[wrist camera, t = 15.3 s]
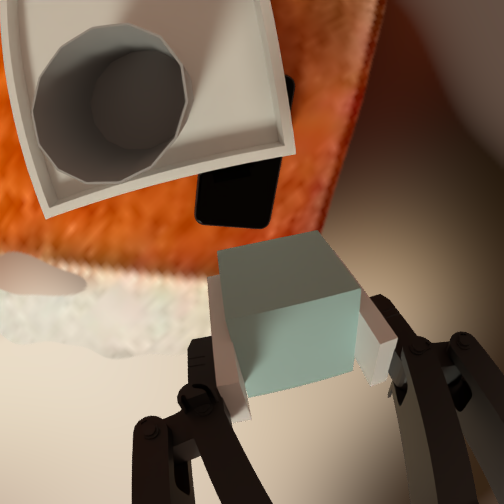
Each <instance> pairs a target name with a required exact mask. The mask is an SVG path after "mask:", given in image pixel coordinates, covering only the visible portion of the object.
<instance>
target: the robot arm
mask: <svg viewBox="0 0 504 504" xmlns="http://www.w3.org/2000/svg"><path fill="white" fill-rule="evenodd" d="M333 251H334V250H333ZM334 252H335V251H334ZM335 254H336V252H335ZM336 255H337V254H336ZM337 256H338V255H337ZM338 257H339V256H338ZM339 259H340V258H339ZM340 260H341V259H340ZM341 261H342V260H341ZM342 263H343V261H342ZM343 264H344V263H343ZM344 265H345V264H344ZM345 267H346V265H345ZM346 268H347V267H346ZM347 269H348V268H347ZM348 271H349V269H348ZM349 272H350V271H349ZM350 273H351V272H350ZM351 275H352V273H351ZM352 276H353V275H352ZM353 277H354V276H353ZM354 279H355V277H354ZM355 280H356V279H355ZM207 281H208V295H209V308H210V321H211V333H212V336H209V337H203V338H198V339H192V341H191V343H190V345H189V347H188V384H186V385H185V386H183V387H182V389H180V391H179V393H178V396H177V400H178V404H179V405H180V407H181V409H182V410H181V411H180V412H178V413H176V414H174V415H172V416H169V417H167V418H165V419H161V418H159V417H157V416H148V417H144V418H143V419H141V420H140V421H138V423H137V424H136V425H135V428H134V432H133V452H132V504H195V497H194V487H193V478H192V467H191V459H194V458H196V457H199V456H201V457H202V460H203V462H204V465H205V467H206V470H207V472H208V474H209V477H210V479H211V481H212V484H213V486H214V488H215V490H216V493H217V495H218V497H219V499H220V501H221V503H222V504H273V503H272V502H271V500H270V498H269V496H268V495H267V493H266V491H265V489H264V488H263V486H262V484H261V482H260V480H259V479H258V477H257V475H256V473H255V471H254V469H253V468H252V466H251V464H250V462H249V460H248V458H247V456H246V454H245V452H244V450H243V448H242V446H241V444H240V442H239V440H238V438H237V436H236V434H235V432H234V431H233V428H232V422H233V423H236V422H242V421H247V420H251V414H250V409H249V403H248V398H247V393H246V388H245V383H244V379H243V376H242V373H241V369H240V366H239V362H238V359H237V356H236V352H235V349H234V345H233V342H231V338H230V335H229V331H228V328H227V324H226V321H225V314H224V306H223V298H222V289H221V281H220V275H216V276H211V277H207ZM356 281H357V280H356ZM357 283H358V281H357ZM358 284H359V283H358ZM359 285H360V284H359ZM360 287H361V285H360ZM354 356H355V358H356V360H357V362H358V364H359V366H360V368H361V370H362V372H363V374H364V376H365V377H366V379H367V381H368V383H369V385H370V387H371V386H373V385H376V384H379V383H382V382H384V381H386V379H387V376H388V373H389V375H390V376H391V378H392V383H391V386H390V389H389V392H388V398H389V397H391V394H393V399H394V403H395V408H396V413H397V418H398V423H399V428H400V434H401V440H402V445H403V452H404V457H405V464H406V471H407V478H408V486H409V494H410V504H479V503H478V500H477V496H476V489H475V484H474V480H473V474H472V470H471V465H470V461H469V456H468V452H467V448H466V444H465V440H464V437H463V434H464V436H465V438H466V440H467V442H468V444H469V445H470V447H471V449H472V451H473V453H474V455H475V457H476V458H477V460H478V462H479V464H480V466H481V468H482V470H483V472H484V474H485V476H486V478H487V480H488V482H489V484H490V486H491V488H492V490H493V492H494V494H495V496H496V499H497V501H498V503H499V504H504V375H503V373H502V372H501V371H500V369H499V368H498V367H497V365H496V364H495V363H494V361H493V360H492V359H491V358H490V356H489V355H488V354H487V352H486V351H485V350H484V349H483V347H482V346H481V345H480V344H479V342H478V341H477V340H476V339H475V338H474V337H473V336H472V335H471V334H469V333H467V332H457V333H455V334H453V335H452V337H451V339H450V341H449V342H439V343H431V342H430V341H429V340H427V339H426V338H424V337H420V336H417V335H416V334H415V333H414V331H413V330H412V329H411V327H410V326H409V324H408V323H407V322H406V320H405V319H404V318H403V317H402V315H401V314H400V313H399V311H398V310H397V309H396V308H395V306H394V305H393V304H392V302H391V301H390V300H389V299H388V298H386V297H384V296H383V295H381V294H379V295H375V296H372V297H369V296H368V295H367V293H366V292H365V291H364V289H363V288H362V287H361V299H360V311H359V317H358V327H357V336H356V344H355V352H354ZM231 420H232V421H231Z"/></svg>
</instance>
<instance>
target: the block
mask: <svg viewBox="0 0 504 504" xmlns="http://www.w3.org/2000/svg"><path fill="white" fill-rule="evenodd" d="M217 254H218V263H219V272H220V281H221V289H222V298H223V306H224V314H225V321H226V324H227V328H228V331H229V335H230V338H231V342H233V345H234V349H235V352H236V356H237V359H238V362H239V366H240V369H241V373H242V376H243V379H244V383H245V388H246V391H247V394H248V398H249V397H255V396H259V395H264V394H269V393H273V392H277V391H282V390H286V389H290V388H294V387H298V386H302V385H306V384H310V383H313V382H317V381H321V380H324V379H328V378H331V377H334V376H338V375H341V374H344V373H347V372H351V371H352V370H353V364H354V357H355V356H354V352H355V344H356V336H357V327H358V317H359V311H360V299H361V287H360V285H359V284H358V283H357V281H356V280H355V279H354V277H353V276H352V275H351V273H350V272H349V271H348V269H347V268H346V267H345V265H344V264H343V263H342V261H341V260H340V259H339V257H338V256H337V255H336V254H335V252H334V251H333V250H332V248H331V247H330V246H329V245H328V243H327V242H326V241H325V239H324V238H323V237H322V236H321V234H320V233H319V232H318V231H317V230H316V231H311V232H306V233H302V234H297V235H292V236H287V237H282V238H277V239H272V240H268V241H263V242H258V243H253V244H248V245H244V246H239V247H234V248H229V249H225V250H220V251H217Z"/></svg>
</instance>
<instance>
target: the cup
mask: <svg viewBox="0 0 504 504" xmlns="http://www.w3.org/2000/svg"><path fill="white" fill-rule="evenodd" d="M193 101H194V97H193V90H192V83H191V77H190V75H189V74H188V72H187V71H186V69H185V67H184V66H183V64H182V63H181V61H180V60H179V59H178V57H177V56H176V55H175V53H174V52H173V51H172V49H171V48H170V47H169V45H168V44H167V43H166V42H165V40H164V39H163V38H162V36H160V35H158V34H155V33H153V32H150V31H148V30H146V29H143V28H141V27H138V26H136V25H133V24H130V23H120V24H110V25H102V26H95V27H91V28H89V29H88V30H86V31H84V32H82V33H81V34H79V35H78V36H76V37H74V38H73V39H71V40H70V41H68V42H66V43H65V44H63V45H62V46H60V48H59V49H58V50H57V52H56V53H55V54H54V56H53V57H52V58H51V60H50V61H49V63H48V64H47V66H46V67H45V69H44V70H43V71H42V73H41V74H40V76H39V78H38V82H37V86H36V91H35V95H34V100H33V105H32V110H31V114H32V119H33V125H34V130H35V134H36V139H37V143H38V146H39V147H40V149H41V150H42V151H43V153H44V154H45V155H46V157H47V158H48V159H49V160H50V162H51V163H52V164H53V166H54V167H55V168H56V170H57V171H59V172H61V173H63V174H65V175H67V176H70V177H72V178H74V179H76V180H78V181H80V182H82V183H84V184H120V183H122V182H124V181H126V180H128V179H130V178H132V177H134V176H136V175H138V174H140V173H142V172H144V171H147V170H149V169H151V168H152V167H153V166H154V165H155V164H156V162H157V161H158V160H159V159H160V158H161V157H162V155H163V154H164V153H165V152H166V151H167V150H168V148H169V147H170V146H171V145H172V144H173V143H174V141H175V140H176V139H177V138H178V136H179V134H180V133H181V131H182V129H183V128H184V126H185V124H186V123H187V120H188V117H189V114H190V111H191V107H192V104H193Z"/></svg>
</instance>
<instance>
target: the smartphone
mask: <svg viewBox="0 0 504 504" xmlns="http://www.w3.org/2000/svg"><path fill="white" fill-rule="evenodd" d="M284 76H285V82H286V88H287V94H288V100H289V107H290V113H291V107H292V102H293V96H294V91H295V83H294V80H293V79H292V78H291V77H290V76H288V75H284ZM281 161H282V157H276V158H271V159H266V160H260V161H255V162H250V163H245V164H240V165H235V166H231V167H226V168H221V169H217V170H212V171H208V172H204V173H199V174H198V180H197V190H196V201H195V212H194V215H195V219H196V221H197V222H198V223H199V224H202V225H210V226H224V227H237V228H251V229H263V228H265V227H267V226H268V224H269V222H270V219H271V214H272V209H273V204H274V199H275V193H276V188H277V183H278V177H279V172H280V167H281Z"/></svg>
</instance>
